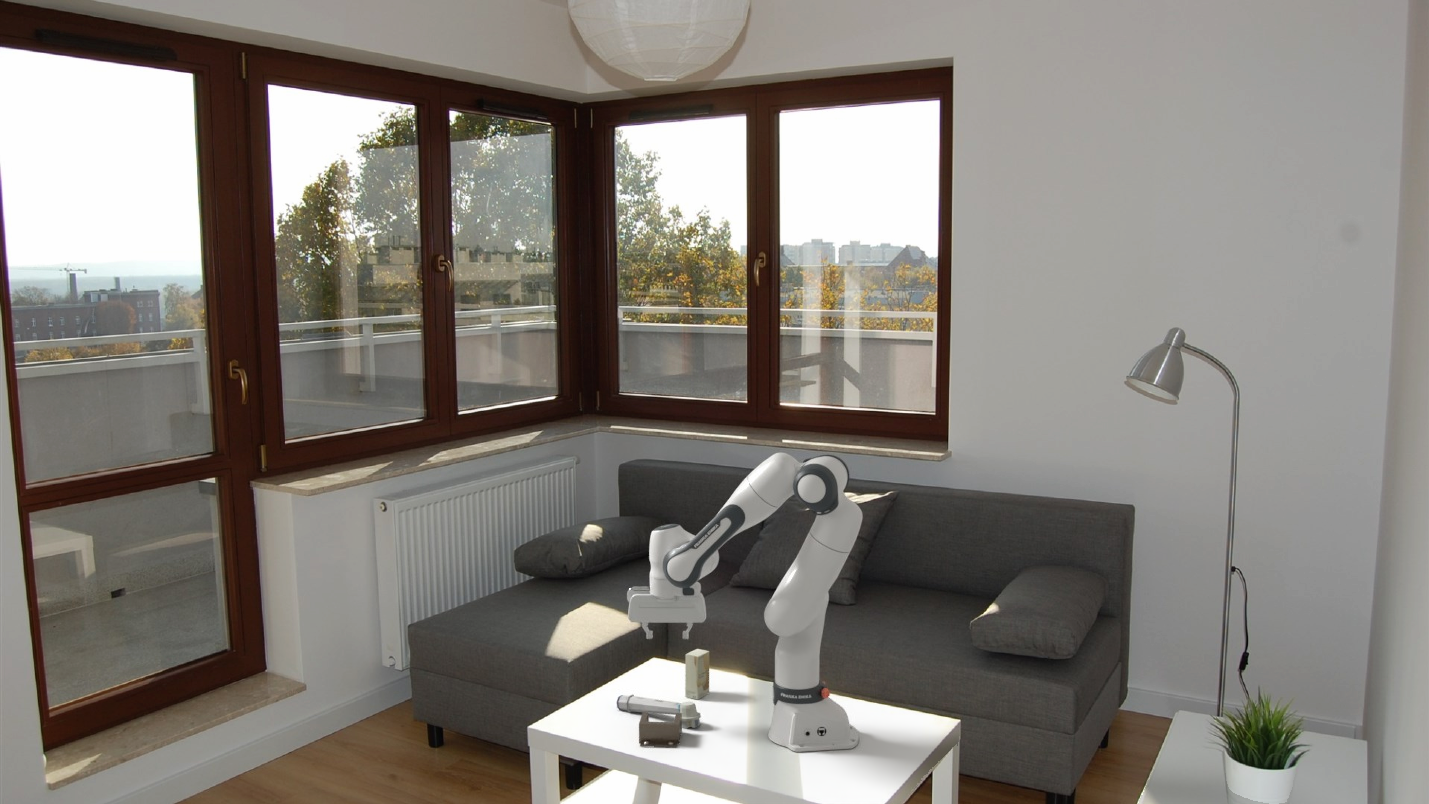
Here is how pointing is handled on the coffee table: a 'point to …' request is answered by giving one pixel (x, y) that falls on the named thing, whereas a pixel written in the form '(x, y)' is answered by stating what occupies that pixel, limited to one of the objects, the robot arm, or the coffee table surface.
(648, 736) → the bracket
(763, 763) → the coffee table surface
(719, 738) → the coffee table surface
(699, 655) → the skincare box
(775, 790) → the coffee table surface
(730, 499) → the robot arm
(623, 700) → the white handheld device
